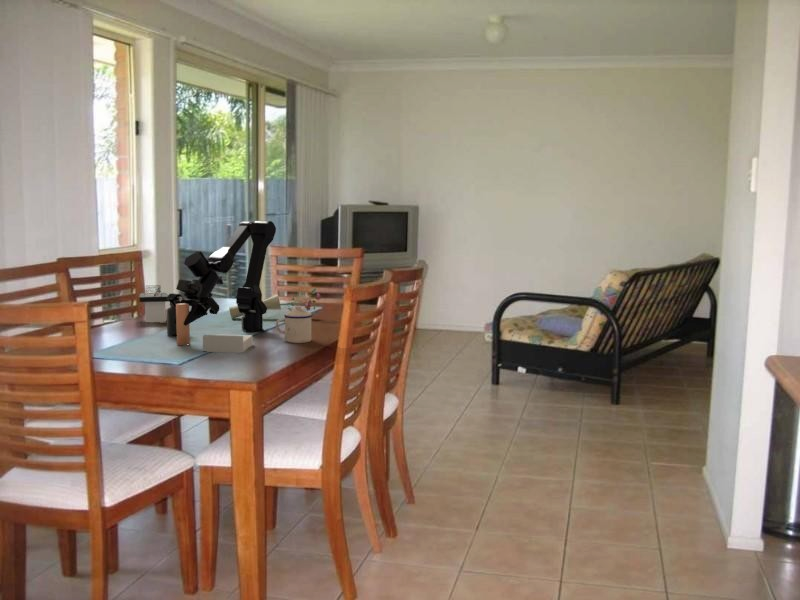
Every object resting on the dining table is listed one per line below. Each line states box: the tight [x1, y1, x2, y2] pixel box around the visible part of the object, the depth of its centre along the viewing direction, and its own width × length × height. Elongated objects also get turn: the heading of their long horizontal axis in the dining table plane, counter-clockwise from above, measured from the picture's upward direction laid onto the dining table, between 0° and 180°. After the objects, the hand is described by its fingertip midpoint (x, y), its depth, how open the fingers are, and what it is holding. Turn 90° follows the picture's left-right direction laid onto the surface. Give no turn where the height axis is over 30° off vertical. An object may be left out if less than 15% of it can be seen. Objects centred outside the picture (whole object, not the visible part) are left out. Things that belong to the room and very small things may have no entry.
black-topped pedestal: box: [138, 284, 169, 323], centre depth 304 cm, size 28×26×13 cm
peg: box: [176, 303, 191, 346], centre depth 257 cm, size 4×4×13 cm
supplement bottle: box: [166, 302, 177, 336], centre depth 275 cm, size 7×7×12 cm
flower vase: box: [228, 287, 322, 320], centre depth 313 cm, size 12×12×35 cm
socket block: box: [202, 334, 253, 354], centre depth 253 cm, size 14×12×5 cm
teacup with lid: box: [275, 305, 313, 344], centre depth 267 cm, size 12×9×12 cm
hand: (179, 324), depth 256 cm, fingers closed on peg, 4 cm apart
